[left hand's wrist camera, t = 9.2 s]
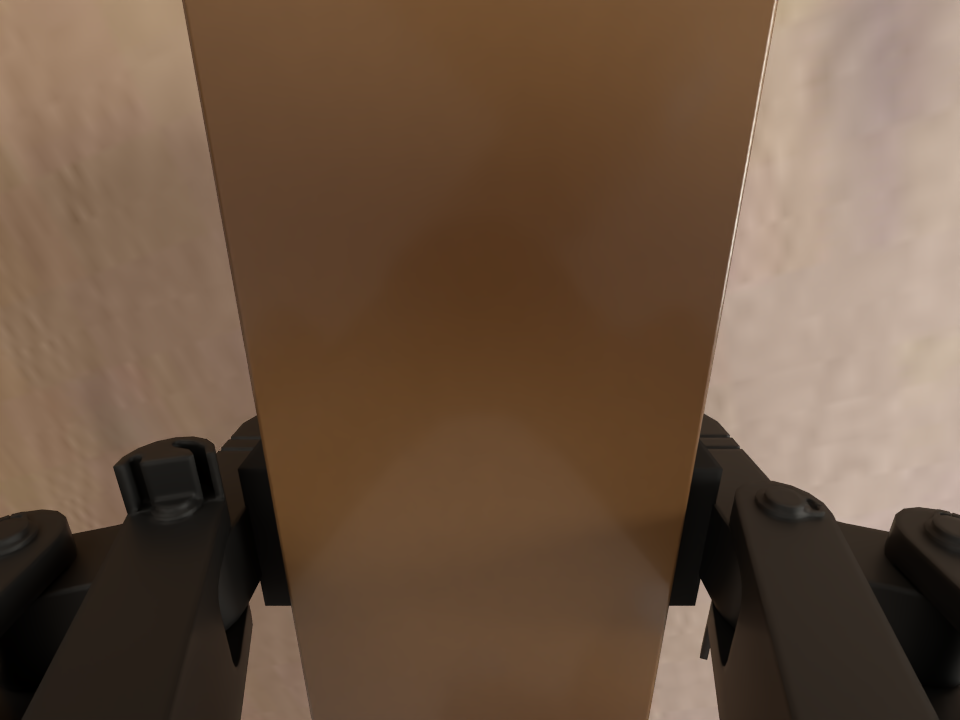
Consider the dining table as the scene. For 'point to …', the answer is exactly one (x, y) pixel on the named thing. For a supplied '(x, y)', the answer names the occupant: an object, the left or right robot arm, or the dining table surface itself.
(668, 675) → the dining table surface
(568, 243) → the beam
